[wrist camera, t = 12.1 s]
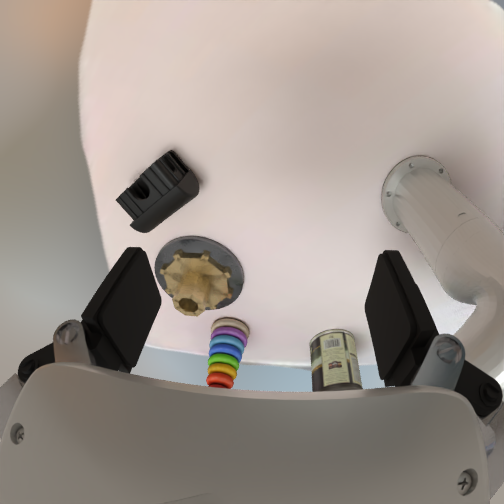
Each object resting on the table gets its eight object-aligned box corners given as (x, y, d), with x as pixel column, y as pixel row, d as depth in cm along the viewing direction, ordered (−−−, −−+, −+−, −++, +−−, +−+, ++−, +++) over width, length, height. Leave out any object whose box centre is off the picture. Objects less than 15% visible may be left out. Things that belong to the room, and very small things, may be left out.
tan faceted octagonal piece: (230, 250, 43) (223, 277, 38) (235, 305, 50) (230, 332, 45) (157, 248, 44) (143, 272, 39) (172, 300, 51) (162, 326, 46)
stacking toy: (218, 311, 54) (199, 396, 39) (255, 323, 55) (246, 407, 40) (207, 332, 58) (190, 409, 43) (241, 343, 59) (231, 419, 44)
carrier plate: (241, 237, 43) (238, 250, 40) (245, 307, 52) (243, 322, 49) (148, 235, 44) (139, 247, 41) (167, 302, 54) (161, 315, 51)
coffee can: (324, 359, 61) (327, 411, 50) (300, 341, 57) (301, 398, 46) (361, 343, 57) (371, 397, 46) (341, 322, 53) (350, 382, 42)
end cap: (160, 218, 42) (143, 241, 37) (131, 185, 39) (110, 205, 34) (205, 183, 38) (192, 203, 33) (174, 146, 35) (155, 160, 30)
